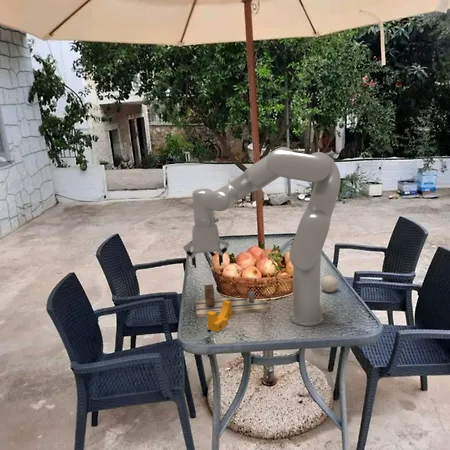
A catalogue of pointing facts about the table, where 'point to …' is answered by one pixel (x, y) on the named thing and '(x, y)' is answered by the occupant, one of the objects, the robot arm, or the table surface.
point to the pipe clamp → (219, 317)
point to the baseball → (329, 283)
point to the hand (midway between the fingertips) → (207, 265)
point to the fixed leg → (251, 297)
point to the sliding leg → (209, 295)
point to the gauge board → (237, 306)
